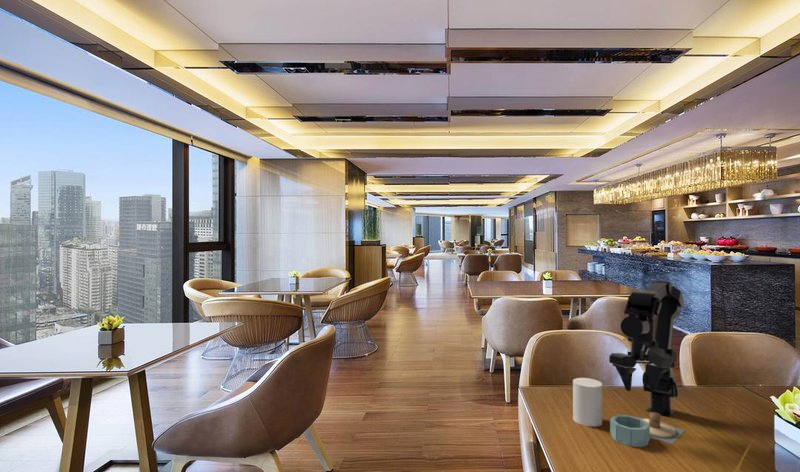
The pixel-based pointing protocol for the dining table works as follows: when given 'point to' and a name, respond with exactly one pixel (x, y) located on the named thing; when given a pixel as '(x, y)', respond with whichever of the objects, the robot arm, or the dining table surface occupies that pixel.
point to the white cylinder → (587, 402)
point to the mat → (671, 439)
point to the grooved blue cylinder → (630, 430)
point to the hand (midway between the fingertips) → (640, 390)
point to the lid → (659, 426)
